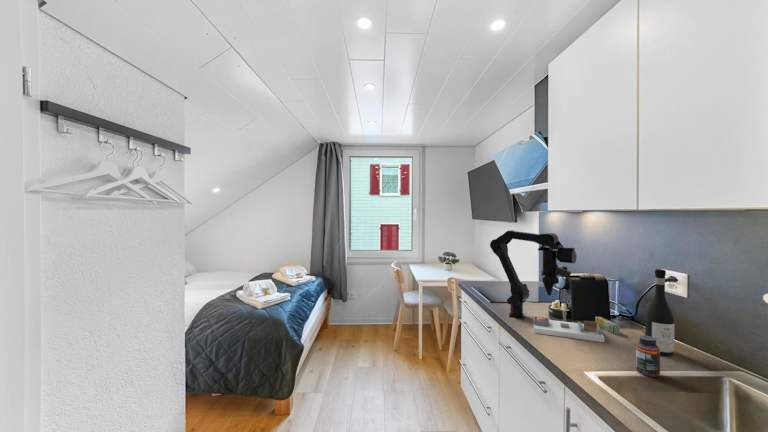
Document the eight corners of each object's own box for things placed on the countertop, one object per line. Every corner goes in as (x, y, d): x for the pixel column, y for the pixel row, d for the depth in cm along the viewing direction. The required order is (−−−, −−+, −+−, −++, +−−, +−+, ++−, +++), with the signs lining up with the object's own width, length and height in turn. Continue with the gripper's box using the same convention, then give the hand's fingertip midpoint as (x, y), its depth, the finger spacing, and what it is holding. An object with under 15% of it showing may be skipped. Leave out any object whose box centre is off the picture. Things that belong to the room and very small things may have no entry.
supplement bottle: (651, 369, 106) (651, 334, 106) (665, 378, 100) (665, 341, 100) (631, 368, 107) (631, 333, 106) (644, 377, 101) (644, 341, 100)
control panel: (533, 322, 150) (533, 313, 150) (597, 330, 140) (597, 320, 140) (533, 332, 137) (534, 323, 137) (604, 342, 127) (604, 332, 127)
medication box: (620, 335, 135) (620, 325, 135) (613, 335, 135) (614, 325, 135) (600, 325, 147) (600, 316, 147) (594, 325, 147) (594, 316, 147)
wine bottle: (679, 357, 114) (680, 272, 114) (653, 355, 116) (654, 271, 115) (664, 347, 122) (665, 268, 122) (640, 346, 123) (641, 267, 123)
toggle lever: (562, 320, 140) (561, 310, 142) (566, 321, 140) (566, 311, 141) (562, 320, 139) (562, 310, 140) (567, 321, 138) (566, 311, 139)
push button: (536, 320, 145) (536, 316, 145) (546, 322, 144) (546, 317, 144) (536, 323, 142) (536, 319, 142) (546, 324, 140) (546, 320, 140)
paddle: (583, 329, 135) (583, 320, 135) (596, 330, 133) (596, 322, 133) (584, 330, 134) (584, 321, 134) (596, 331, 132) (596, 323, 132)
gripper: (572, 265, 136) (572, 302, 137) (567, 259, 153) (567, 292, 154) (542, 263, 141) (542, 299, 141) (541, 257, 158) (541, 289, 158)
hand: (549, 295), depth 148 cm, fingers closed
